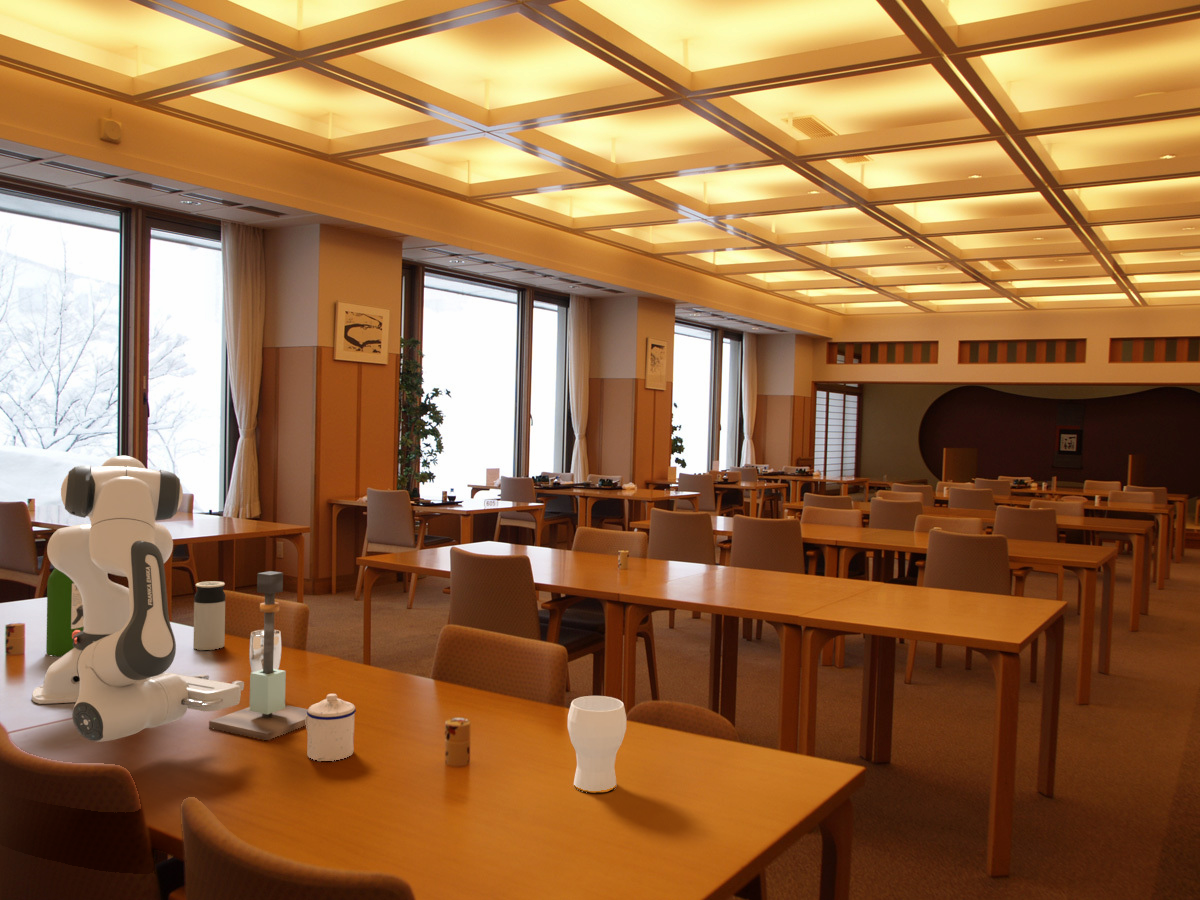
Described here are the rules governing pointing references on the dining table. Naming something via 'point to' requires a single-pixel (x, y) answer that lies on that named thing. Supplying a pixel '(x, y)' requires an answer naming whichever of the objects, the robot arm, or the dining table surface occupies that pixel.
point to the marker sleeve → (267, 691)
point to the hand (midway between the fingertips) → (223, 681)
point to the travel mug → (209, 616)
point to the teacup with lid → (330, 729)
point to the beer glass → (258, 650)
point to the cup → (596, 739)
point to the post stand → (254, 721)
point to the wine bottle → (62, 613)
